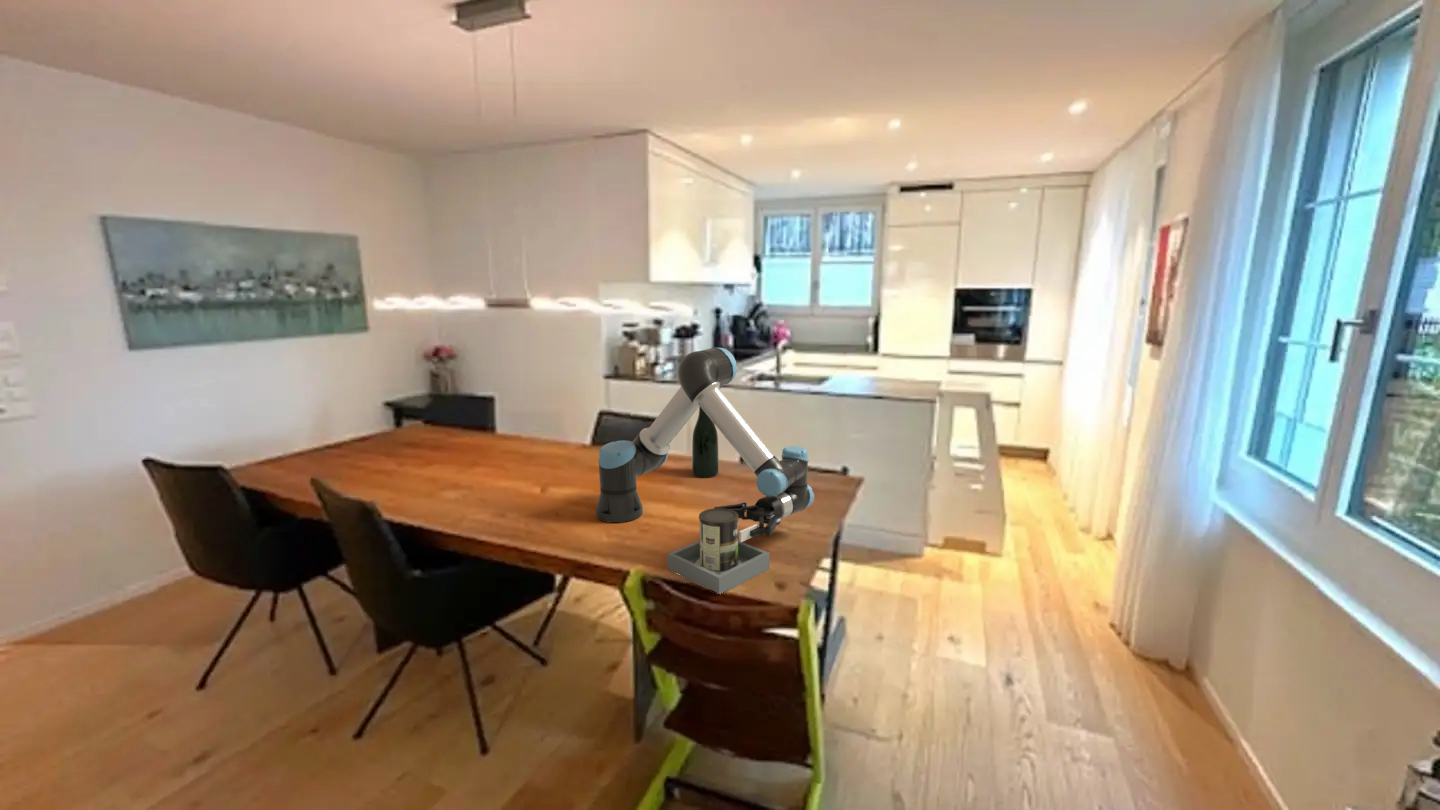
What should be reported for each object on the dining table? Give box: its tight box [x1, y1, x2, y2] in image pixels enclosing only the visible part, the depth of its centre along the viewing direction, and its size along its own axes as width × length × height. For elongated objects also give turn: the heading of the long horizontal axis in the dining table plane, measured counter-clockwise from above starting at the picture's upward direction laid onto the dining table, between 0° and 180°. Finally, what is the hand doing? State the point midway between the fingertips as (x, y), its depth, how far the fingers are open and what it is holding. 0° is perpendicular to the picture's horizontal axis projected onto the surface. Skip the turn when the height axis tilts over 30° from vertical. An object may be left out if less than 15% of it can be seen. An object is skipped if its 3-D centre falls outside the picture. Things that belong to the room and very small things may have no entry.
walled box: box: [667, 539, 771, 595], centre depth 159 cm, size 19×19×4 cm
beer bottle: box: [691, 406, 720, 478], centre depth 235 cm, size 10×10×33 cm
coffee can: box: [698, 508, 739, 574], centre depth 158 cm, size 10×10×14 cm
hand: (720, 529), depth 158 cm, fingers open, 13 cm apart
